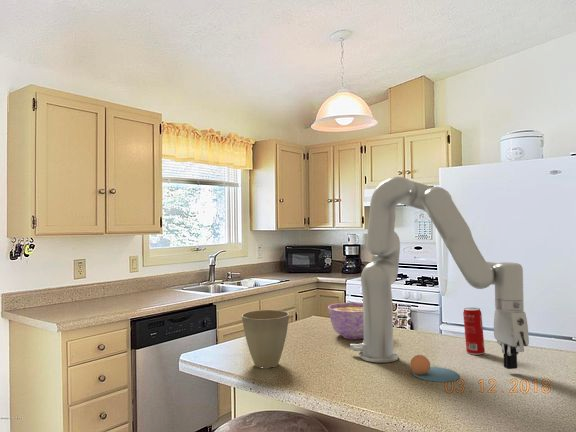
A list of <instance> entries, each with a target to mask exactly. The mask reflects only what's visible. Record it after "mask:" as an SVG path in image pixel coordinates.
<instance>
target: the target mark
mask: <svg viewBox="0 0 576 432" xmlns="http://www.w3.org/2000/svg"><path fill="white" fill-rule="evenodd" d="M411 372H412V375H413V376H414V377H416V378H417V379H421V380H424V381H428V382H435V383H448V382H455V381H458V379H459V378H460V374H459V373H458V372H456V371H455V370H452V369H449V368H445V367H439V366H430V370H429V371H428V373H426V374H425V375H418V374H416V373H414V372H413V371H411Z"/></svg>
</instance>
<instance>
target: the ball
mask: <svg viewBox="0 0 576 432" xmlns="http://www.w3.org/2000/svg"><path fill="white" fill-rule="evenodd" d="M409 365H410V370H412V371H413V372H414V373H416V374H418V375H425V374H426V373H428V371H429V370H430V367H431V363H430V360H429V359H428V357H426V356H424V355H422V354H417V355H414V356H413V357H412V358H411V360H410V363H409ZM412 371H411V372H412Z"/></svg>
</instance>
